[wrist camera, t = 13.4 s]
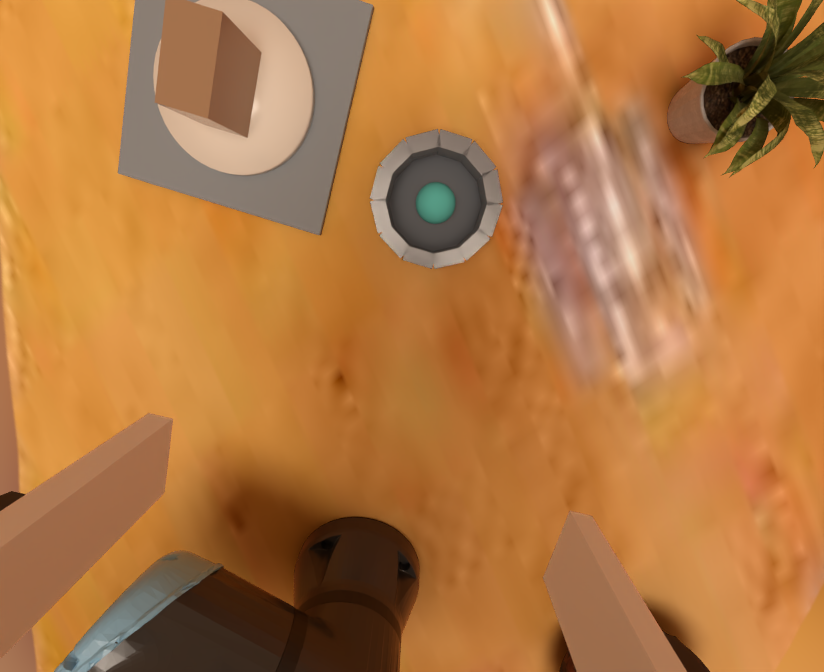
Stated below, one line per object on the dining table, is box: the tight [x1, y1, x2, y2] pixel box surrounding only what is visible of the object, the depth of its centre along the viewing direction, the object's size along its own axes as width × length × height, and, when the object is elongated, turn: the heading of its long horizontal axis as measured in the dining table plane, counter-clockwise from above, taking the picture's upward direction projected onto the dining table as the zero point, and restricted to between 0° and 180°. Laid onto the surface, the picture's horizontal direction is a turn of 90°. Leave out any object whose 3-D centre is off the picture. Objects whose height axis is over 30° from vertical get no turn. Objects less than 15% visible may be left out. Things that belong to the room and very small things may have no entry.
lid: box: [153, 0, 315, 176], centre depth 33 cm, size 14×14×8 cm
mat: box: [118, 0, 374, 235], centre depth 38 cm, size 20×20×1 cm
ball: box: [416, 182, 455, 224], centre depth 37 cm, size 4×4×4 cm
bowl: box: [370, 129, 503, 269], centre depth 37 cm, size 11×11×5 cm
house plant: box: [667, 0, 824, 176], centre depth 29 cm, size 14×14×16 cm
